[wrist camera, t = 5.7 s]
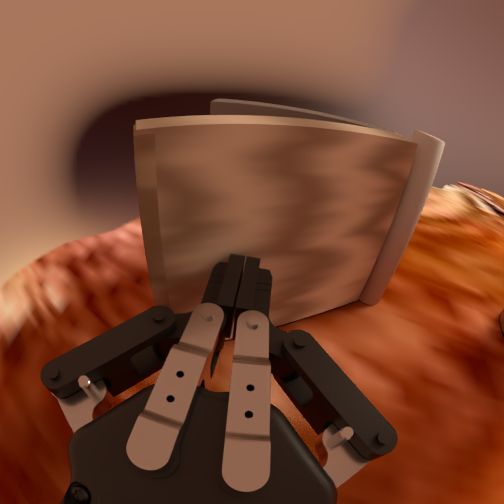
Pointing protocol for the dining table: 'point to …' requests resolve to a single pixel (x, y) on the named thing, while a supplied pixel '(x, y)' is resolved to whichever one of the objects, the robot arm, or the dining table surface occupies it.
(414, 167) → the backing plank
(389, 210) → the ash plank
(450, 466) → the dining table surface
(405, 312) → the dining table surface
